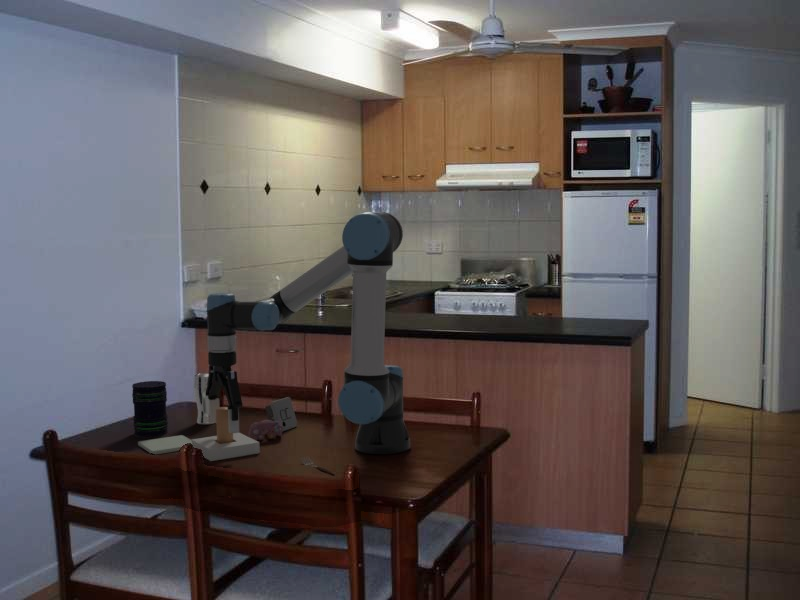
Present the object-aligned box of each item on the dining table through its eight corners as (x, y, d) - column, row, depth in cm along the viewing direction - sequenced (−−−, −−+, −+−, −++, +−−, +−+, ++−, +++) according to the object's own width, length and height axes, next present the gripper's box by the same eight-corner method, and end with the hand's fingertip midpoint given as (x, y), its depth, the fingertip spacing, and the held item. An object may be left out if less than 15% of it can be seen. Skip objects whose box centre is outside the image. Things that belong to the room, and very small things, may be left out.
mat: (198, 447, 261) (198, 444, 261) (152, 454, 254) (152, 451, 254) (182, 438, 272) (182, 435, 272) (138, 445, 265) (137, 441, 265)
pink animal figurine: (249, 446, 268) (249, 427, 265) (247, 435, 272) (247, 417, 268) (283, 443, 271) (284, 424, 267) (280, 433, 275) (282, 414, 271)
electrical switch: (280, 433, 277) (276, 402, 276) (266, 433, 279) (262, 402, 279) (298, 426, 285) (295, 396, 284) (284, 426, 287) (281, 396, 287)
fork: (330, 478, 231) (330, 470, 231) (299, 464, 244) (299, 456, 244) (339, 476, 232) (339, 468, 232) (308, 462, 245) (308, 455, 245)
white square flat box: (259, 453, 254) (259, 442, 254) (210, 461, 247) (210, 450, 246) (239, 442, 266) (238, 432, 266) (191, 450, 258) (191, 439, 258)
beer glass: (191, 424, 290) (189, 376, 288) (202, 419, 296) (200, 372, 295) (211, 425, 288) (209, 377, 286) (222, 420, 294) (220, 373, 293)
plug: (236, 452, 256) (234, 408, 254) (221, 454, 253) (219, 411, 252) (229, 448, 259) (228, 406, 258) (214, 451, 257) (213, 408, 256)
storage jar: (134, 438, 272) (132, 388, 271) (133, 431, 282) (131, 382, 280) (169, 435, 275) (167, 385, 274) (167, 428, 285) (165, 380, 283)
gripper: (253, 355, 245) (255, 434, 247) (217, 343, 266) (219, 417, 268) (226, 357, 241) (229, 438, 243) (192, 346, 262) (194, 420, 264)
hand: (224, 427), depth 256 cm, fingers open, 13 cm apart
